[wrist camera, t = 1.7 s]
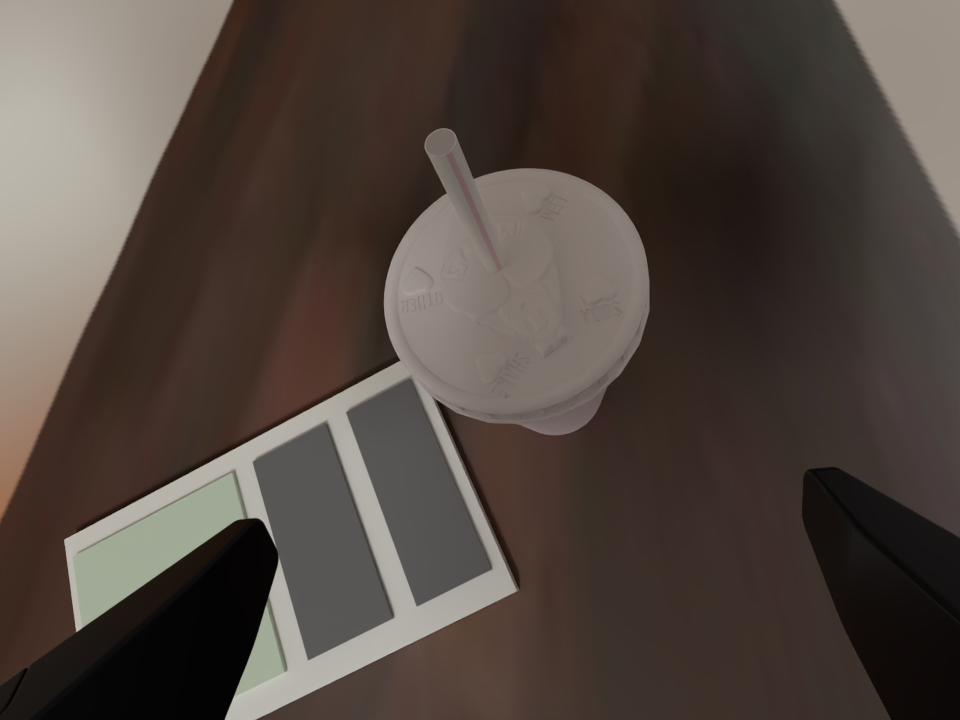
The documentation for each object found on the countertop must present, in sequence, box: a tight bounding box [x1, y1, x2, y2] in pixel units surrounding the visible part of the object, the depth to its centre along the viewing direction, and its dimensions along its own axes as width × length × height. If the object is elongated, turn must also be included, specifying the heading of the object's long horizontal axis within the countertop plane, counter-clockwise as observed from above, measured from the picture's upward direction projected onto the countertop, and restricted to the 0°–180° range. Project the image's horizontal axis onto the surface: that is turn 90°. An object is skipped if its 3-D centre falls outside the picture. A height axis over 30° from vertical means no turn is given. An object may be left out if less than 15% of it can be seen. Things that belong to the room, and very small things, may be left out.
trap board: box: [64, 361, 519, 720], centre depth 22 cm, size 10×18×1 cm, turn 114°
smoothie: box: [384, 128, 650, 435], centre depth 15 cm, size 6×6×14 cm
